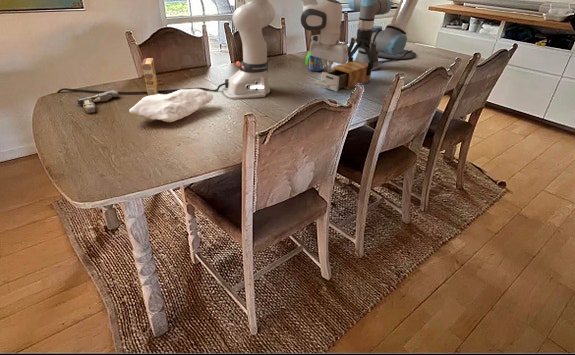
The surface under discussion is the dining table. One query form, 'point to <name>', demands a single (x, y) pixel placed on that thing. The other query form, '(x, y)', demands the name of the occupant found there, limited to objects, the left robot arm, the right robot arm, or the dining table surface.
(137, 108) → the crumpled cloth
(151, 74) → the candy box
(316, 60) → the snack cup
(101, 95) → the handgun
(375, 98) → the dining table surface
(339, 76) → the drawer
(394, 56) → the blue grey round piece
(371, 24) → the right robot arm
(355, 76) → the cabinet
